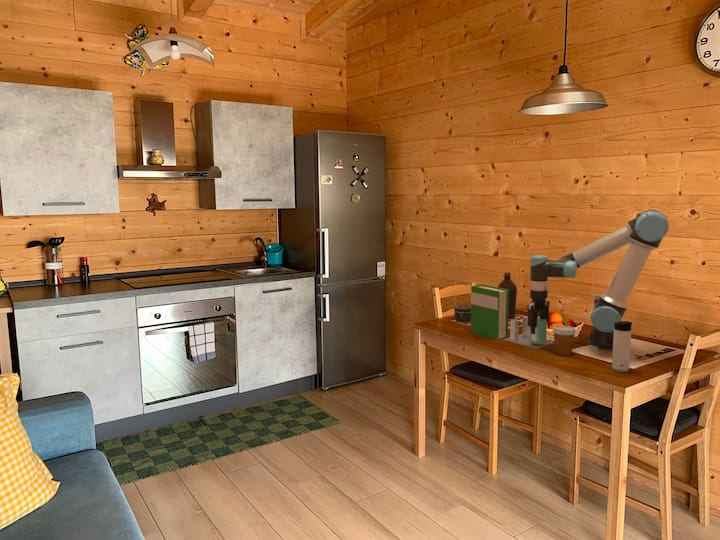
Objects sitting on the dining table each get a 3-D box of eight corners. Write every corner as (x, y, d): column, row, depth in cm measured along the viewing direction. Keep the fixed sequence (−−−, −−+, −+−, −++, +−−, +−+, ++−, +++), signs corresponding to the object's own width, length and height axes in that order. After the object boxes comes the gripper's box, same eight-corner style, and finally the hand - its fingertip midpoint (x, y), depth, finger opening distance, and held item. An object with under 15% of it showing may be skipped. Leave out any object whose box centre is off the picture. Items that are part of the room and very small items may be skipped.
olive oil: (502, 319, 307) (503, 274, 303) (493, 315, 317) (494, 271, 313) (519, 318, 309) (521, 273, 305) (510, 313, 319) (511, 270, 316)
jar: (453, 322, 304) (453, 308, 303) (455, 317, 313) (455, 304, 312) (471, 323, 301) (471, 309, 300) (473, 318, 310) (473, 305, 309)
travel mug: (624, 373, 219) (627, 324, 216) (608, 369, 224) (611, 320, 221) (633, 370, 223) (635, 321, 220) (617, 366, 228) (619, 318, 225)
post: (520, 340, 264) (521, 320, 263) (514, 342, 262) (515, 322, 260) (513, 338, 268) (513, 318, 266) (507, 340, 265) (507, 320, 264)
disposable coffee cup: (564, 350, 250) (565, 324, 249) (579, 356, 242) (581, 329, 240) (547, 353, 247) (547, 326, 245) (562, 359, 238) (563, 331, 236)
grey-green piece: (546, 342, 256) (546, 319, 255) (539, 344, 253) (539, 321, 252) (536, 340, 261) (537, 317, 259) (529, 342, 258) (530, 319, 256)
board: (556, 343, 260) (556, 342, 260) (536, 350, 251) (536, 348, 251) (522, 335, 275) (522, 333, 275) (502, 341, 267) (502, 339, 266)
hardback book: (508, 338, 271) (509, 289, 267) (497, 341, 267) (498, 291, 263) (481, 330, 286) (482, 284, 282) (470, 333, 282) (471, 286, 278)
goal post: (532, 337, 269) (533, 317, 268) (527, 338, 267) (527, 319, 265) (525, 335, 273) (525, 315, 271) (519, 336, 270) (519, 317, 269)
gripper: (544, 285, 262) (543, 334, 265) (519, 291, 251) (518, 341, 254) (558, 287, 256) (557, 337, 259) (533, 293, 245) (532, 345, 248)
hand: (538, 339), depth 257 cm, fingers closed on grey-green piece, 5 cm apart
